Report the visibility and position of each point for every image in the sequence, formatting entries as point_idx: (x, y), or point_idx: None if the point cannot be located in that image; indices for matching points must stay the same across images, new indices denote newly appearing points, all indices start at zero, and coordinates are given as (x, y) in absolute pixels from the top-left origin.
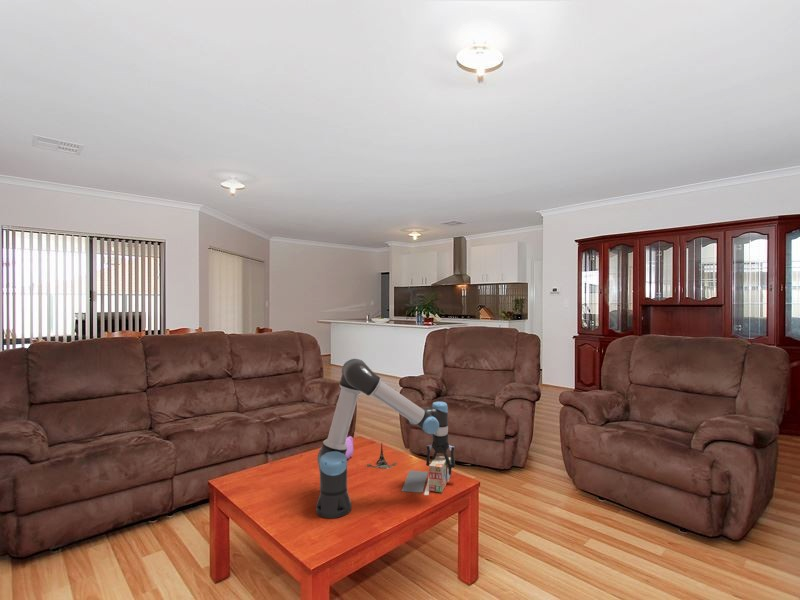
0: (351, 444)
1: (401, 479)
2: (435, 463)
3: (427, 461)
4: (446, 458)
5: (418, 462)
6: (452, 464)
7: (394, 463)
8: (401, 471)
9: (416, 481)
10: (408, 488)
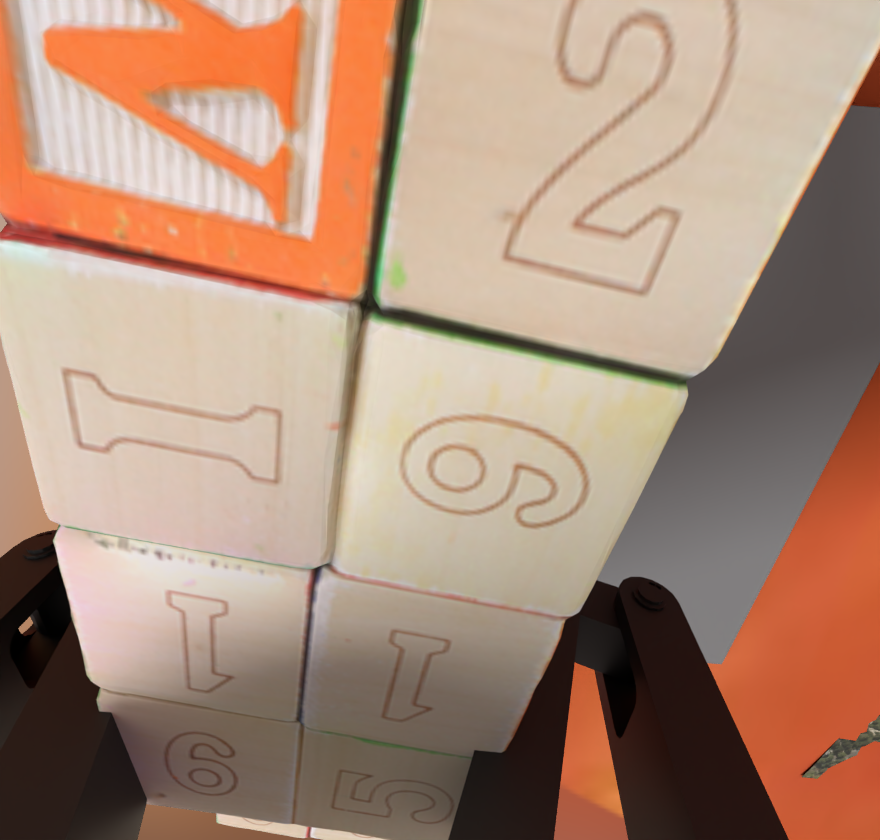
0: None
1: (857, 494)
2: (448, 352)
3: (681, 669)
4: (52, 754)
5: (605, 781)
6: (28, 578)
7: (825, 768)
8: (801, 651)
9: (694, 440)
10: (861, 217)
